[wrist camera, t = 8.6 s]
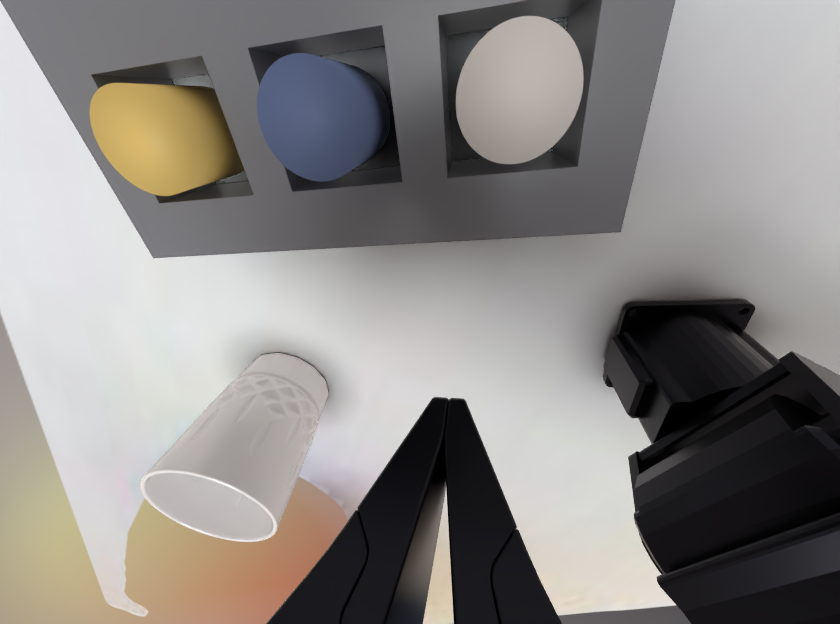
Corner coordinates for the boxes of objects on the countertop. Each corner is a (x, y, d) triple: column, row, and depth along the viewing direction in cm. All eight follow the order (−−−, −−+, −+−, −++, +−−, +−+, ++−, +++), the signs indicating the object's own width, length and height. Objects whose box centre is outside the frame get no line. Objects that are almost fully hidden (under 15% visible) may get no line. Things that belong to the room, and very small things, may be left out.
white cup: (353, 382, 26) (298, 517, 17) (310, 426, 30) (249, 553, 21) (263, 328, 24) (153, 451, 15) (230, 383, 28) (129, 504, 19)
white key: (558, 30, 12) (594, 4, 8) (547, 143, 13) (573, 158, 10) (457, 46, 12) (452, 27, 9) (460, 152, 14) (458, 169, 11)
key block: (642, -97, 11) (717, -182, 8) (589, 204, 16) (620, 232, 13) (102, 14, 14) (-7, -10, 11) (205, 231, 20) (153, 258, 17)
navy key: (382, 57, 13) (351, 44, 9) (395, 158, 15) (374, 176, 11) (296, 71, 13) (239, 62, 10) (320, 166, 15) (279, 185, 12)
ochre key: (233, 80, 14) (157, 75, 10) (264, 172, 16) (209, 192, 12) (160, 92, 14) (67, 90, 11) (199, 178, 16) (129, 199, 13)
